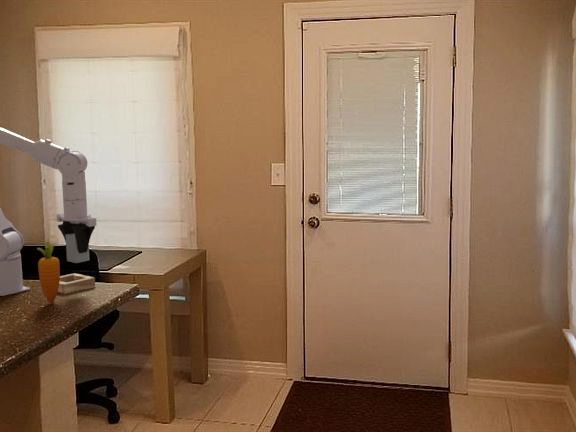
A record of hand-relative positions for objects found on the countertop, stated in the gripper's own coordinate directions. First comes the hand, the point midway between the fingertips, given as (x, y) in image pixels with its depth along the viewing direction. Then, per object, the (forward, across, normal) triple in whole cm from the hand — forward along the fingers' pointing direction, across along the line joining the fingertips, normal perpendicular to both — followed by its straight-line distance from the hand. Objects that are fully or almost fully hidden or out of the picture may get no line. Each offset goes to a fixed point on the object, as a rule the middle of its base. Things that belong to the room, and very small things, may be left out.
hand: (77, 251), depth 168 cm
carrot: (+11, -5, +11) cm, 16 cm away
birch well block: (+10, +4, 0) cm, 11 cm away
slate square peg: (+2, 0, 0) cm, 2 cm away
